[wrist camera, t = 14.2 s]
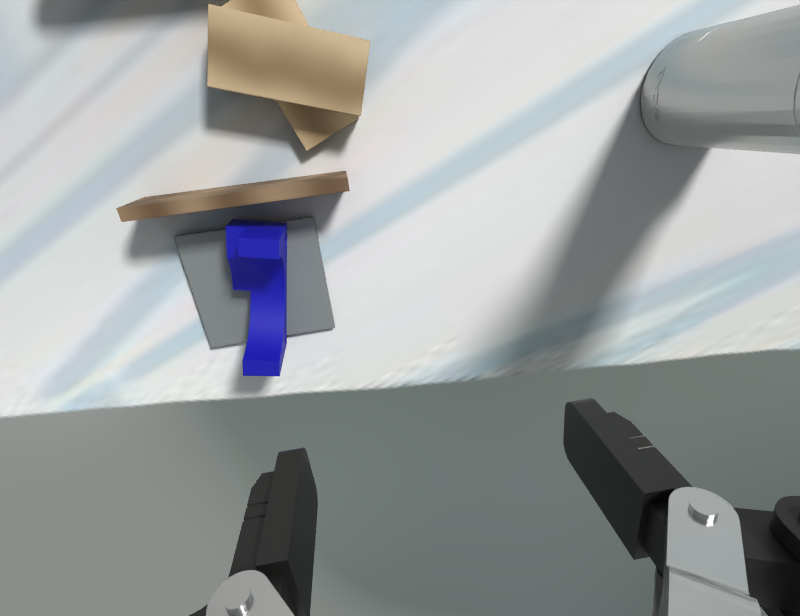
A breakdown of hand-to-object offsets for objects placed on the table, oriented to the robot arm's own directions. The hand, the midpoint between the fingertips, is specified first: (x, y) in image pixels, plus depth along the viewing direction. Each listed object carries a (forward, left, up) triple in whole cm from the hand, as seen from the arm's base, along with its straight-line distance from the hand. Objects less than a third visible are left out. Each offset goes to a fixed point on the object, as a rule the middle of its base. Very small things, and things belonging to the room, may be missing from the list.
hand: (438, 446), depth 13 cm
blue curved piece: (+11, +4, -29) cm, 31 cm away
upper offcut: (+4, -13, -28) cm, 31 cm away
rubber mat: (+11, +4, -29) cm, 31 cm away
